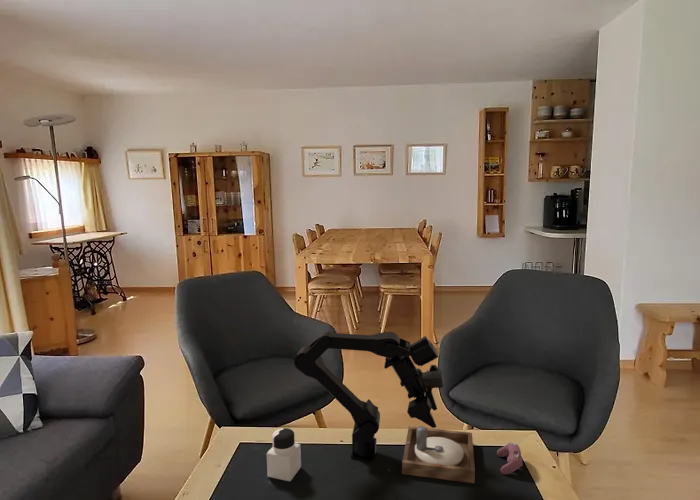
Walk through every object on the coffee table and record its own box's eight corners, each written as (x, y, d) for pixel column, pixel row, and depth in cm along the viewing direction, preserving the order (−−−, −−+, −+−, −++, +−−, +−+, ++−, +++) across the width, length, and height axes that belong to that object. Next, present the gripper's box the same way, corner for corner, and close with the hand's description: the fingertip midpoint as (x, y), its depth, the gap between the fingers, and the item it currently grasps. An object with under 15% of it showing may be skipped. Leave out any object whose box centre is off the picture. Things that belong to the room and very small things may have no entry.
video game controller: (514, 482, 124) (527, 462, 122) (499, 473, 124) (512, 453, 123) (509, 460, 133) (521, 442, 132) (494, 452, 134) (506, 434, 132)
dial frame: (402, 473, 125) (402, 461, 125) (408, 436, 144) (408, 425, 143) (474, 483, 121) (474, 470, 120) (471, 443, 140) (472, 432, 139)
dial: (463, 443, 137) (463, 421, 136) (464, 471, 124) (464, 447, 123) (416, 438, 141) (416, 416, 140) (412, 465, 127) (412, 441, 126)
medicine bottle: (301, 466, 129) (300, 427, 127) (290, 482, 122) (289, 441, 121) (279, 462, 131) (277, 423, 130) (267, 477, 125) (265, 436, 123)
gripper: (430, 376, 118) (461, 425, 119) (433, 348, 136) (459, 391, 137) (394, 393, 122) (424, 441, 122) (401, 363, 139) (427, 405, 140)
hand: (435, 418), depth 130 cm, fingers open, 9 cm apart
